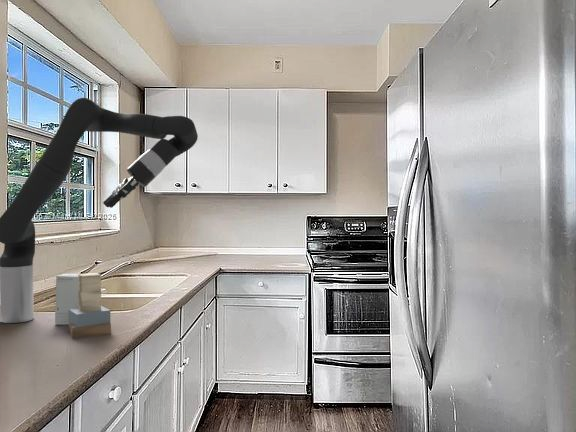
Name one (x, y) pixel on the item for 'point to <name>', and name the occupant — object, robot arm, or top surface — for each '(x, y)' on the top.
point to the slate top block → (89, 317)
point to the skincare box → (65, 297)
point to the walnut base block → (89, 330)
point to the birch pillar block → (89, 292)
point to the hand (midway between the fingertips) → (106, 205)
